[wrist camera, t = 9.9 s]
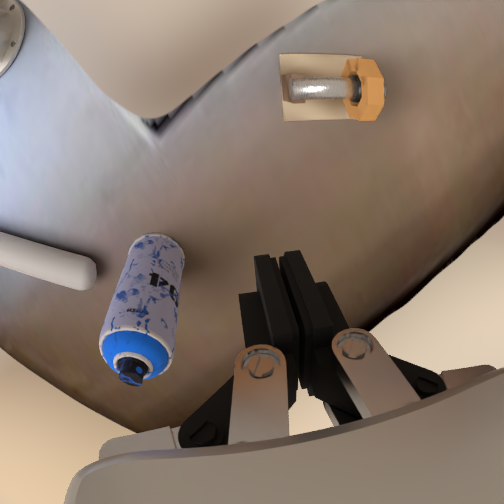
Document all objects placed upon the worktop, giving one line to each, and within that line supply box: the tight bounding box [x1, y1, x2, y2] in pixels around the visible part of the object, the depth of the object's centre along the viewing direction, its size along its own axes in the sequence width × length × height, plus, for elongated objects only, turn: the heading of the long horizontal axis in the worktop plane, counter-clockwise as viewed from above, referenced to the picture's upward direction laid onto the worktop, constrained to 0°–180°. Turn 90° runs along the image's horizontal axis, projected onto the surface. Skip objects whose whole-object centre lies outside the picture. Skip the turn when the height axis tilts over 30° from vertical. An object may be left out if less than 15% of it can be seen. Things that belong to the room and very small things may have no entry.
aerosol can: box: [99, 233, 185, 386], centre depth 33 cm, size 8×8×20 cm
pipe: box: [289, 75, 387, 102], centre depth 28 cm, size 3×10×3 cm, turn 95°
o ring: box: [341, 58, 384, 121], centre depth 28 cm, size 7×2×7 cm, turn 5°
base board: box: [279, 54, 362, 121], centre depth 30 cm, size 8×10×6 cm
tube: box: [0, 232, 97, 290], centre depth 36 cm, size 5×5×25 cm
